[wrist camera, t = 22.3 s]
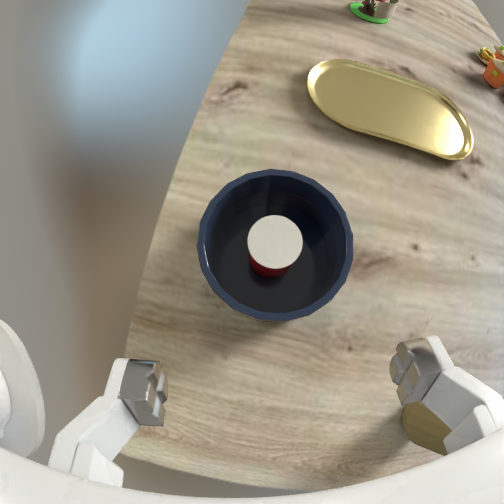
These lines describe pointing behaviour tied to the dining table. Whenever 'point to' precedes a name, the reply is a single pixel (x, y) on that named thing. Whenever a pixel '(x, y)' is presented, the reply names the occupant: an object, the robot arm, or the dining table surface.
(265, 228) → the disc
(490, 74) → the toy tea set
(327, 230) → the pot
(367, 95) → the serving platter
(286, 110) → the dining table surface
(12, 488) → the robot arm
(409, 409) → the squeeze bottle
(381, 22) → the mushroom terrarium jar
